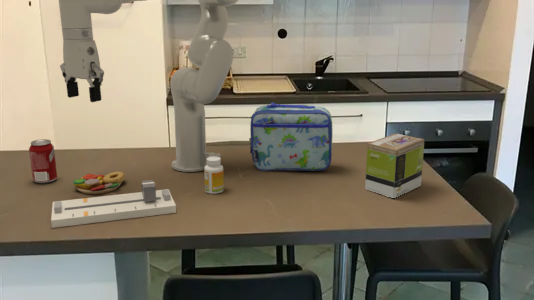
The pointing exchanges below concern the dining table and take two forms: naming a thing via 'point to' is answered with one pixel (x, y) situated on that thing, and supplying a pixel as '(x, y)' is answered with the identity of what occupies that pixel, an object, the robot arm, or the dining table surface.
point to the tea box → (394, 165)
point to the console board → (110, 208)
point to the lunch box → (291, 137)
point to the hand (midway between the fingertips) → (84, 98)
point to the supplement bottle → (214, 175)
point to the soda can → (43, 161)
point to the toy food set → (99, 183)
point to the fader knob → (148, 190)
